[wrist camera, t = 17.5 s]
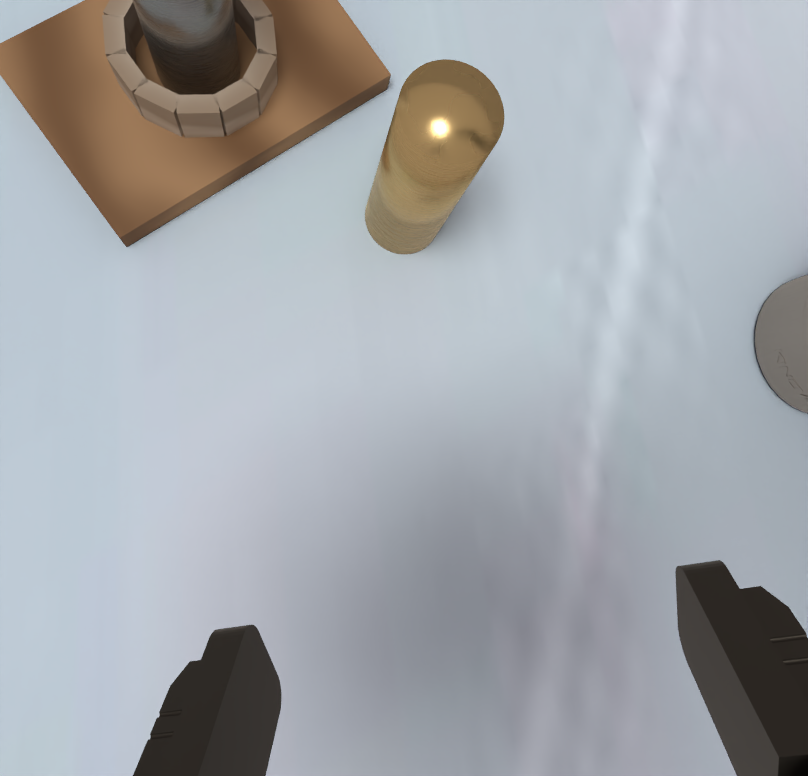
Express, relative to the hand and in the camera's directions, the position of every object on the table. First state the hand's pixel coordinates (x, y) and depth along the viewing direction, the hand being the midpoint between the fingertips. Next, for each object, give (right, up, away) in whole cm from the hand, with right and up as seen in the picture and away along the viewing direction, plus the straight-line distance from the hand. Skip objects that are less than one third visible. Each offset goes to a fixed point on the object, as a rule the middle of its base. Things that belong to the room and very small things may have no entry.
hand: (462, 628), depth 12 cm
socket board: (-13, +22, +25) cm, 36 cm away
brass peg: (-1, +15, +26) cm, 30 cm away
